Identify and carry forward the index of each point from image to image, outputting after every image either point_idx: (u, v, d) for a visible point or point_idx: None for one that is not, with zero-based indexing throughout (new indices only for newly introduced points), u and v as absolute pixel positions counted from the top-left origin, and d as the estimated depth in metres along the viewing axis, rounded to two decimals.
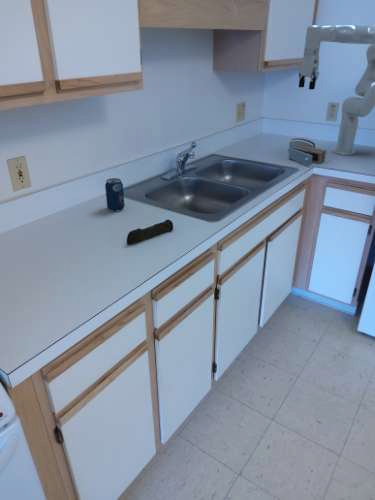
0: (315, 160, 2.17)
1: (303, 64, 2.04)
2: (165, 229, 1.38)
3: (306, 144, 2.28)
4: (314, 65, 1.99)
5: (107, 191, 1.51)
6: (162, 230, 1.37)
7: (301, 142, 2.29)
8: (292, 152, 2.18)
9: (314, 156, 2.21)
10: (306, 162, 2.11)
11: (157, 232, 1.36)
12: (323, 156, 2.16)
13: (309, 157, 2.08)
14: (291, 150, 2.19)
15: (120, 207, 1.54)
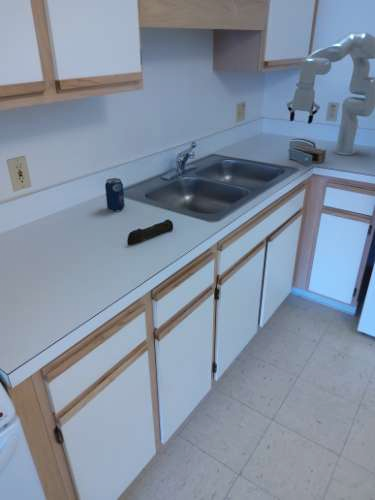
0: (315, 160, 2.17)
1: None
2: (165, 229, 1.38)
3: (306, 144, 2.28)
4: None
5: (107, 191, 1.51)
6: (162, 230, 1.37)
7: (301, 142, 2.29)
8: (292, 152, 2.18)
9: (314, 156, 2.21)
10: (306, 162, 2.11)
11: (157, 232, 1.36)
12: (323, 156, 2.16)
13: (309, 157, 2.08)
14: (291, 150, 2.19)
15: (120, 207, 1.54)
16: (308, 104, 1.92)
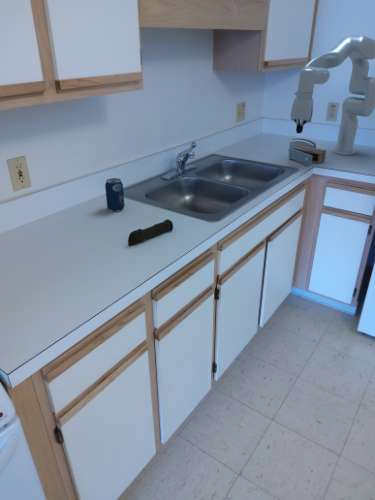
0: (315, 160, 2.17)
1: None
2: (165, 229, 1.38)
3: (307, 144, 2.28)
4: None
5: (107, 191, 1.51)
6: (162, 230, 1.37)
7: (302, 142, 2.29)
8: (292, 152, 2.18)
9: (314, 156, 2.21)
10: (306, 162, 2.11)
11: (157, 232, 1.36)
12: (323, 156, 2.16)
13: (309, 157, 2.08)
14: (291, 150, 2.19)
15: (120, 207, 1.54)
16: (307, 113, 1.94)
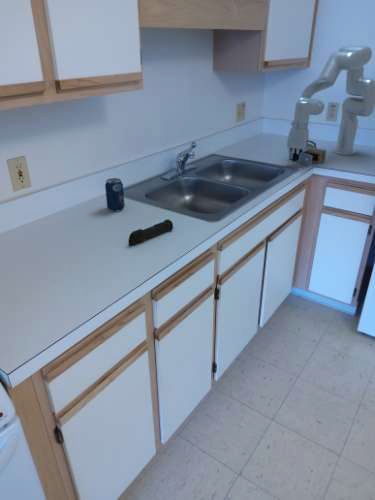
0: (315, 160, 2.17)
1: None
2: (165, 229, 1.38)
3: None
4: None
5: (107, 191, 1.51)
6: (162, 230, 1.37)
7: None
8: None
9: (314, 156, 2.21)
10: (306, 162, 2.11)
11: (158, 232, 1.36)
12: (323, 156, 2.16)
13: (309, 157, 2.08)
14: None
15: (120, 207, 1.54)
16: (302, 143, 2.01)
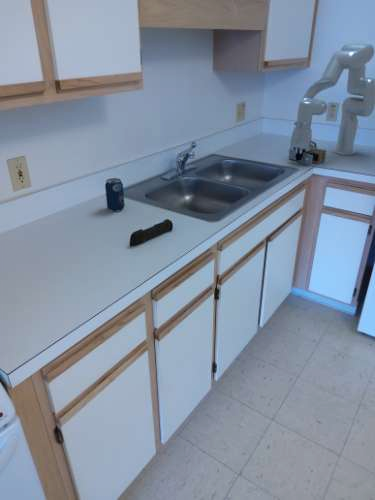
0: (315, 160, 2.17)
1: None
2: (165, 229, 1.38)
3: None
4: None
5: (107, 191, 1.51)
6: (163, 230, 1.37)
7: None
8: (292, 152, 2.18)
9: (314, 156, 2.21)
10: (306, 162, 2.11)
11: (158, 232, 1.36)
12: (323, 156, 2.16)
13: (310, 157, 2.08)
14: (291, 150, 2.19)
15: (120, 207, 1.54)
16: (305, 142, 2.04)
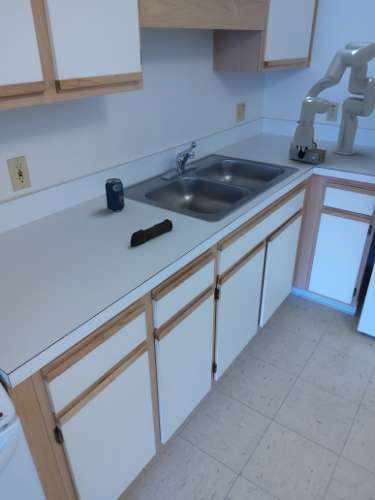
0: None
1: None
2: (165, 229, 1.38)
3: None
4: None
5: (107, 191, 1.51)
6: (163, 230, 1.37)
7: None
8: (294, 152, 2.19)
9: None
10: (312, 161, 2.13)
11: (158, 232, 1.36)
12: (323, 156, 2.16)
13: (316, 155, 2.10)
14: (292, 150, 2.19)
15: (120, 207, 1.54)
16: (308, 140, 2.06)
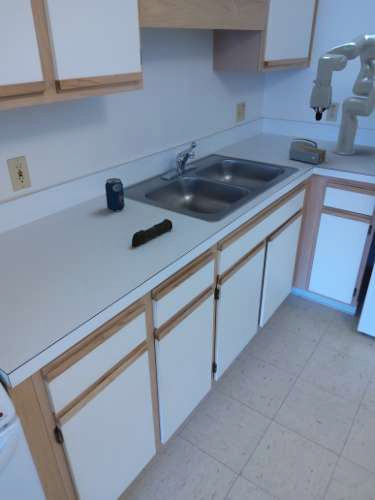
0: None
1: None
2: (165, 229, 1.38)
3: (308, 144, 2.28)
4: None
5: (107, 191, 1.51)
6: (163, 230, 1.37)
7: (303, 142, 2.29)
8: (294, 152, 2.19)
9: None
10: (312, 161, 2.13)
11: (158, 232, 1.36)
12: (323, 156, 2.16)
13: (316, 155, 2.10)
14: (292, 150, 2.19)
15: (120, 207, 1.54)
16: (326, 100, 1.97)
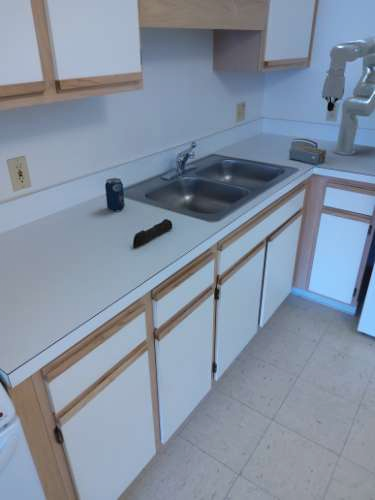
0: None
1: None
2: (165, 229, 1.38)
3: (308, 144, 2.28)
4: None
5: (107, 191, 1.51)
6: (163, 230, 1.37)
7: (303, 142, 2.29)
8: (294, 152, 2.19)
9: None
10: (312, 161, 2.13)
11: (159, 232, 1.36)
12: (323, 156, 2.16)
13: (316, 155, 2.10)
14: (292, 150, 2.19)
15: (120, 207, 1.54)
16: (339, 90, 1.98)
